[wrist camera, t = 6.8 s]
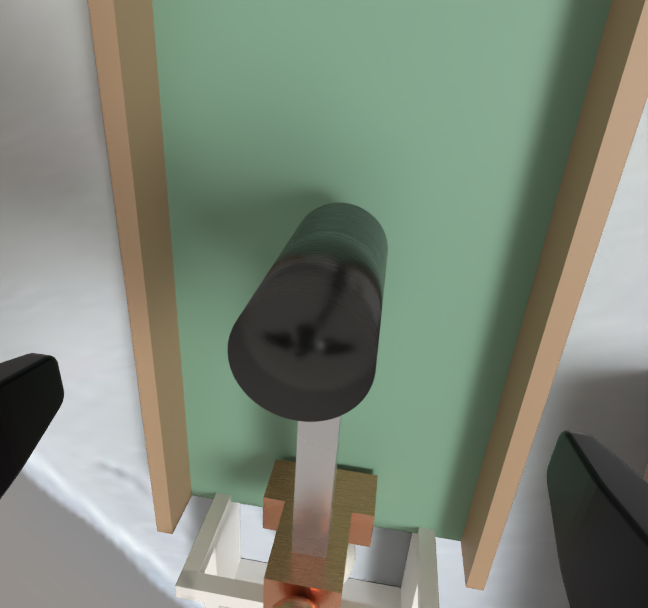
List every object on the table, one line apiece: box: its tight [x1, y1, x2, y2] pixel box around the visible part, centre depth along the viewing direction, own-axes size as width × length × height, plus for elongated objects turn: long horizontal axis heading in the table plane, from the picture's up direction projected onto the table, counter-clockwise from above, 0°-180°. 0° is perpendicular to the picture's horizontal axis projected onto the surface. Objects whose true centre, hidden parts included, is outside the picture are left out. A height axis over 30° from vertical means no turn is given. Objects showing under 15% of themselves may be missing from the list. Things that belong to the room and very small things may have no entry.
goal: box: [175, 493, 439, 608], centre depth 26 cm, size 12×8×7 cm
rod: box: [227, 203, 388, 608], centre depth 17 cm, size 5×16×9 cm, turn 176°
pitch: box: [88, 0, 648, 590], centre depth 19 cm, size 16×31×4 cm, turn 176°
